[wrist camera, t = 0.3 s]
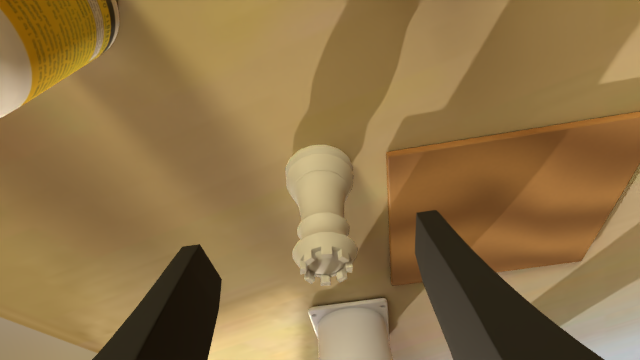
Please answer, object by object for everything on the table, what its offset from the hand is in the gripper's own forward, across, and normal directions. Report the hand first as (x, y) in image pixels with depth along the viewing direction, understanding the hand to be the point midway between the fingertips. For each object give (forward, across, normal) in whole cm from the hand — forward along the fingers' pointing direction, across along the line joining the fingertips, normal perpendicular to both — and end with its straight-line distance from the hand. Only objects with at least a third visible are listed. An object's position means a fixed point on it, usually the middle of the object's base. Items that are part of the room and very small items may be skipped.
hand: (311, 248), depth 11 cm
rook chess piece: (+10, 0, +4) cm, 11 cm away
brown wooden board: (+10, -13, +11) cm, 20 cm away
